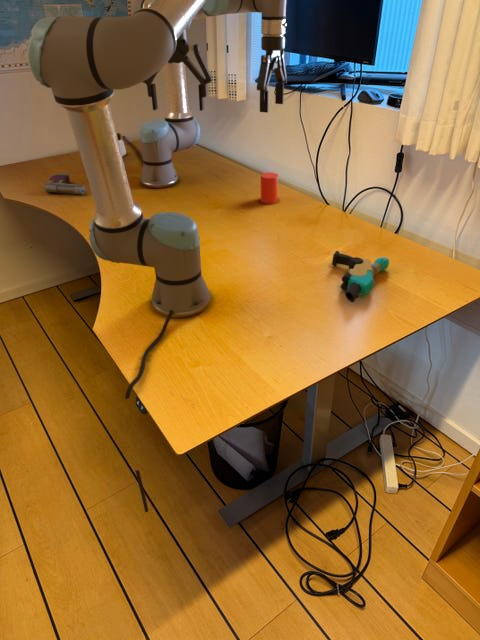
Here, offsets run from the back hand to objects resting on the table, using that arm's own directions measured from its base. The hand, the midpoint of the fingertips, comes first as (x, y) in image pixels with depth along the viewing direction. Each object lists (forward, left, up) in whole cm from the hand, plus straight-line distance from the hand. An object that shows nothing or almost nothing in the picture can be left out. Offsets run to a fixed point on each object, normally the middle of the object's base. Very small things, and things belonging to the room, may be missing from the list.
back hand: (271, 107), depth 162 cm
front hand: (+1, -39, +5) cm, 39 cm away
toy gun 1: (-64, -52, -33) cm, 88 cm away
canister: (0, 0, -33) cm, 33 cm away
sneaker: (-86, -24, -33) cm, 95 cm away
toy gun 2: (+58, -24, -33) cm, 71 cm away
